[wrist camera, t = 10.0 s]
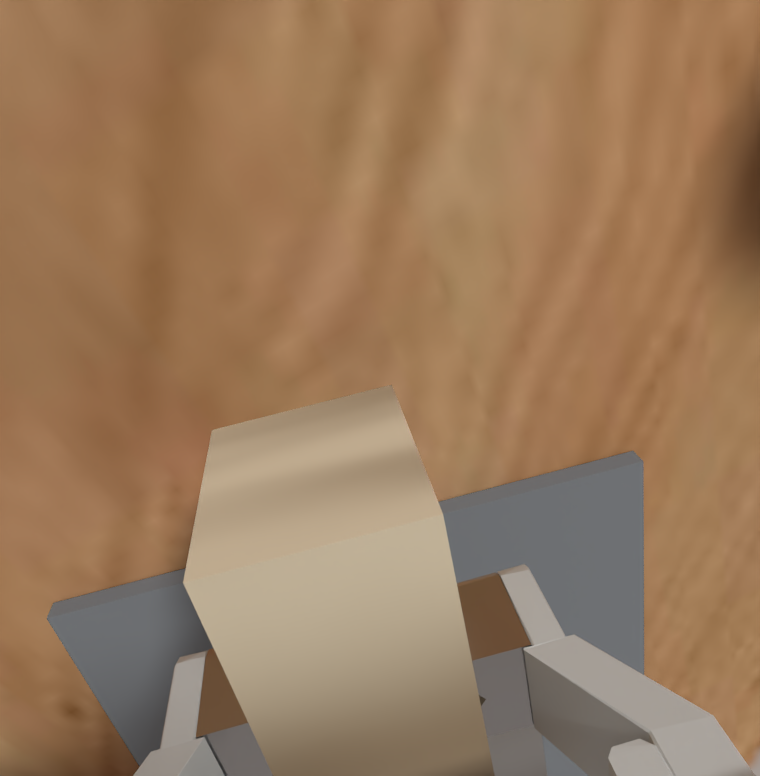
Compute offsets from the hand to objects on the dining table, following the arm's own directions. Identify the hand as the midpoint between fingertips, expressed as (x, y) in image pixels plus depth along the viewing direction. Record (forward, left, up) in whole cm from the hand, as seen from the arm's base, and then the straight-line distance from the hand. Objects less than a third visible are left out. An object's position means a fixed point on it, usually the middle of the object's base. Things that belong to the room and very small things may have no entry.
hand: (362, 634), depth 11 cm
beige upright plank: (+3, 0, -1) cm, 3 cm away
